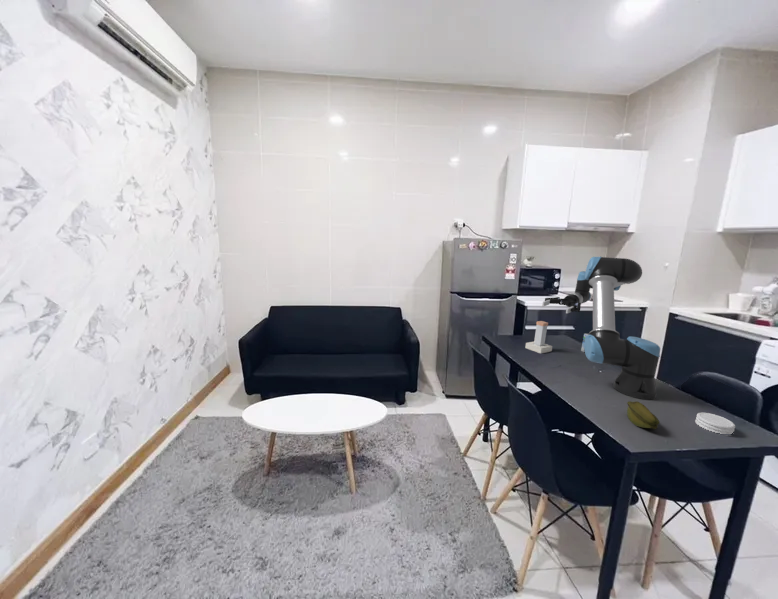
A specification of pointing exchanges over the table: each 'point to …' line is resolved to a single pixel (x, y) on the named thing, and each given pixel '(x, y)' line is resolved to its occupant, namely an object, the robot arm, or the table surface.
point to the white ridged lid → (714, 423)
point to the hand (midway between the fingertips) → (554, 307)
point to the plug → (540, 333)
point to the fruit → (641, 415)
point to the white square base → (538, 347)
